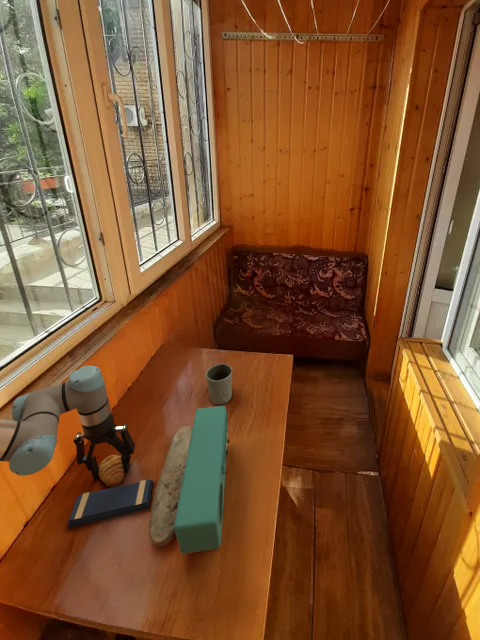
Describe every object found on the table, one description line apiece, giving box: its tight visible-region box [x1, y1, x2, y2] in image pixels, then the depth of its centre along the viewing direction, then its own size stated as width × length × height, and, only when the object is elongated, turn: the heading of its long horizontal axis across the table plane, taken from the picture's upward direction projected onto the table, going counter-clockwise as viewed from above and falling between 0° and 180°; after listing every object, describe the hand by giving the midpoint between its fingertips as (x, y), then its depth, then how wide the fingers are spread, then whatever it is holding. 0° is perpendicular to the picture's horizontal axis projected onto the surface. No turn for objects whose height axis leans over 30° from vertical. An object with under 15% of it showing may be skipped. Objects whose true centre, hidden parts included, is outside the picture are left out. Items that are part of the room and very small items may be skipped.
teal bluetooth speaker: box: [174, 405, 230, 555], centre depth 88 cm, size 34×10×15 cm, turn 7°
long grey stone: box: [148, 424, 193, 547], centre depth 93 cm, size 35×5×10 cm
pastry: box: [98, 454, 125, 488], centre depth 95 cm, size 9×7×4 cm
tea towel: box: [67, 479, 154, 529], centre depth 87 cm, size 20×7×3 cm, turn 103°
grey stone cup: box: [205, 363, 233, 405], centre depth 123 cm, size 10×10×12 cm
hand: (112, 472), depth 96 cm, fingers closed on pastry, 8 cm apart
